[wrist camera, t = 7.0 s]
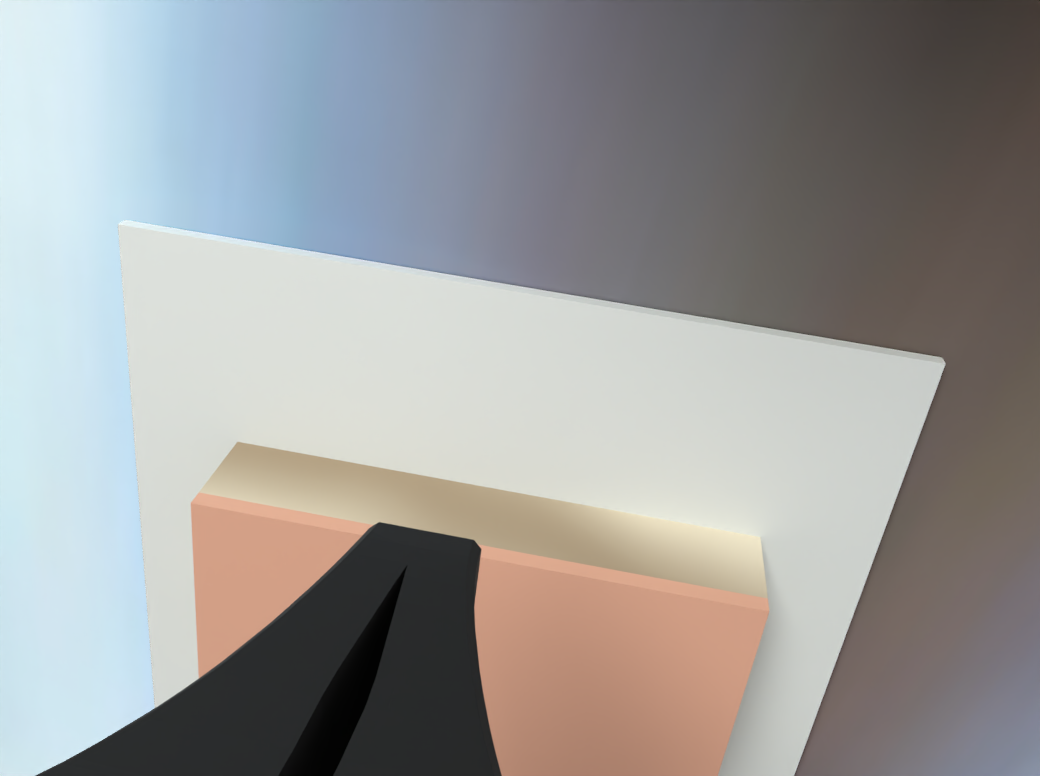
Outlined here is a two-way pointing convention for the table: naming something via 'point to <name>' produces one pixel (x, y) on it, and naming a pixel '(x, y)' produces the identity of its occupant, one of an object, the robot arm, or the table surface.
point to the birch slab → (513, 604)
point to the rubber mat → (522, 426)
